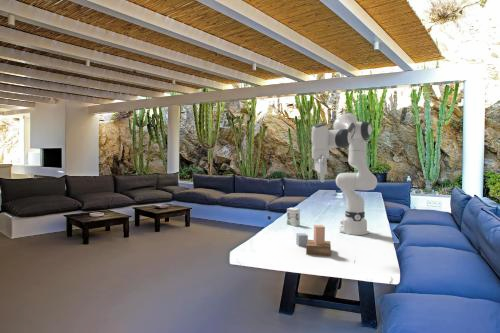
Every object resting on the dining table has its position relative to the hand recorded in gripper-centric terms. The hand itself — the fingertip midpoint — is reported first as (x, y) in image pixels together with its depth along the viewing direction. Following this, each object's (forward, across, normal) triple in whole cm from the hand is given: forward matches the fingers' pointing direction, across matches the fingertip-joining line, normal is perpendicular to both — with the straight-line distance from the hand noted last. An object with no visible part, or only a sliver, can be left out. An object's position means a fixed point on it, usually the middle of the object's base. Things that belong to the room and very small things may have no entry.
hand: (321, 180), depth 181 cm
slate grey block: (+36, +5, +11) cm, 38 cm away
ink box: (+39, +58, +12) cm, 71 cm away
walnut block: (+37, -8, +3) cm, 38 cm away
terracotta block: (+32, -8, +3) cm, 33 cm away
